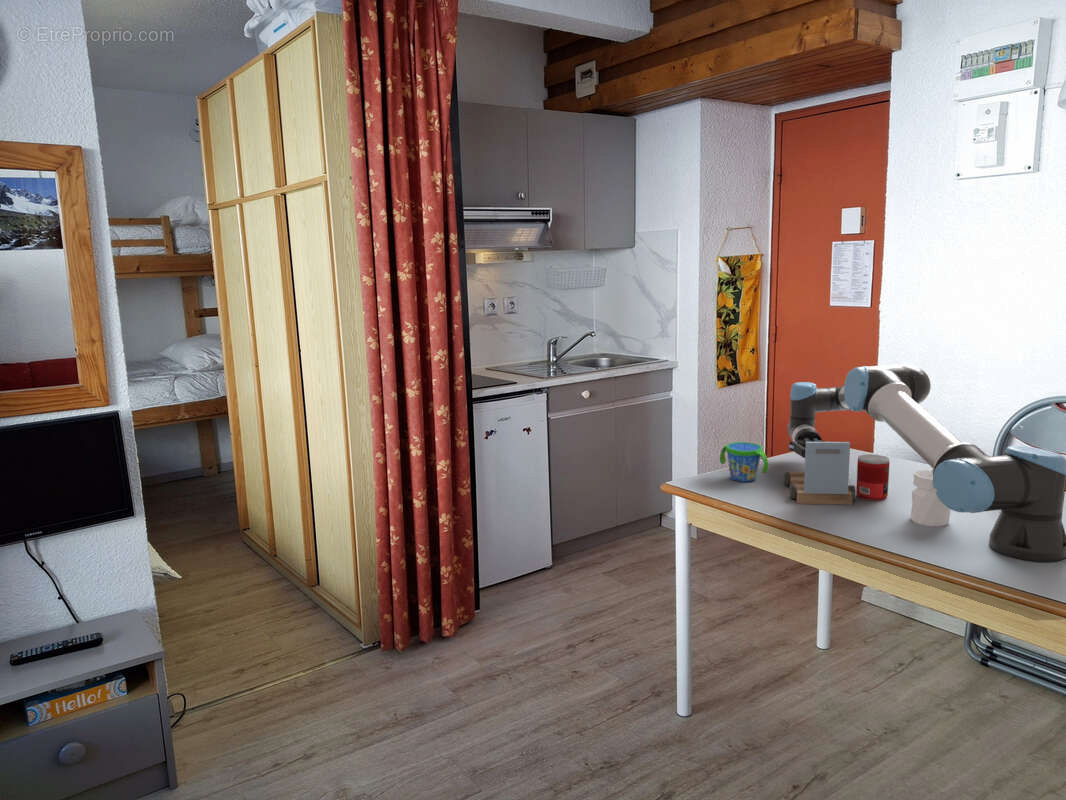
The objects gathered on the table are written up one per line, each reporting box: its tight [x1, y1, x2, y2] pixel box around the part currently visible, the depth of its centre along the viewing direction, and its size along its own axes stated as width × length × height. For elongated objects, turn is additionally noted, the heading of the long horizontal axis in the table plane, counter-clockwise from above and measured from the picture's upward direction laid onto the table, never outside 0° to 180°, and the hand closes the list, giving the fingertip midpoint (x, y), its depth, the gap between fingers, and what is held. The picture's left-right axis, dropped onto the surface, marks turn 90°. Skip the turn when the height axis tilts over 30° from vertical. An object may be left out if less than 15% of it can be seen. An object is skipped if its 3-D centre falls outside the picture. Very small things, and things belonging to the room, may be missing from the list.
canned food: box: [855, 453, 891, 502], centre depth 216 cm, size 8×8×11 cm
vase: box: [910, 469, 951, 527], centre depth 196 cm, size 9×9×12 cm
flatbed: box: [783, 471, 857, 505], centre depth 221 cm, size 20×16×4 cm
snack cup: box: [719, 441, 769, 483], centre depth 235 cm, size 16×10×10 cm
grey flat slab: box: [804, 441, 851, 494], centre depth 209 cm, size 1×11×14 cm, turn 80°
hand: (821, 461), depth 216 cm, fingers closed
